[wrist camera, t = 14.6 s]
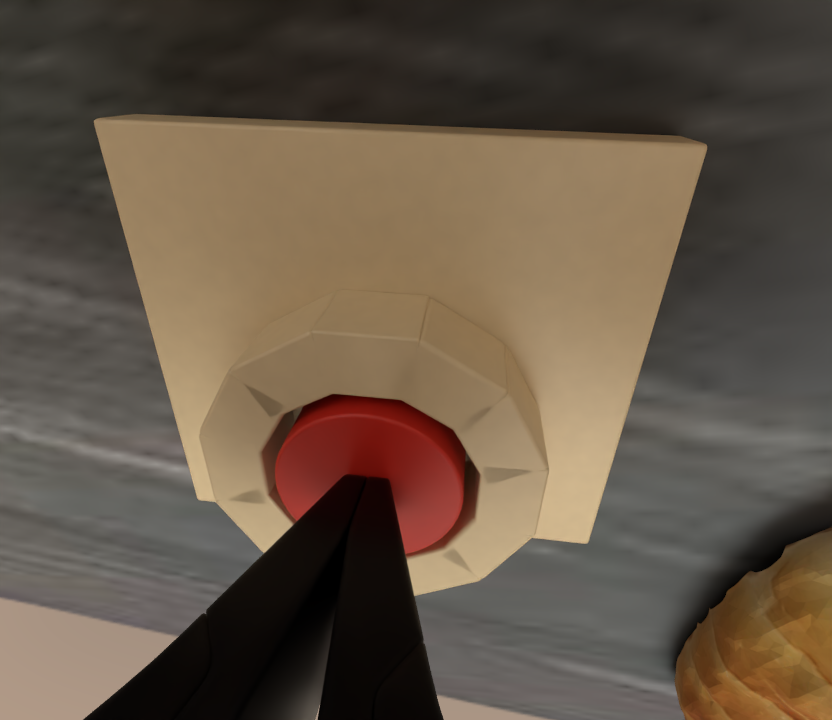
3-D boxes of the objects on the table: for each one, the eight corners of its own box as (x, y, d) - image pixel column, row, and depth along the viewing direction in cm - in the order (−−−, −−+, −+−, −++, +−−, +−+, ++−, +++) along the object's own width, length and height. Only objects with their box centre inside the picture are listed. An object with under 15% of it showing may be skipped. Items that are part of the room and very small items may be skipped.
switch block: (683, 136, 8) (770, 162, 6) (578, 514, 13) (601, 622, 11) (133, 113, 9) (0, 128, 7) (219, 476, 14) (160, 566, 11)
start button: (473, 370, 10) (471, 425, 8) (460, 502, 11) (456, 566, 10) (294, 356, 10) (261, 405, 8) (309, 486, 12) (284, 546, 10)
